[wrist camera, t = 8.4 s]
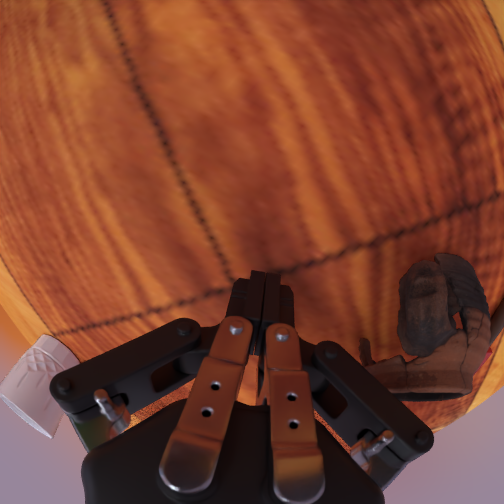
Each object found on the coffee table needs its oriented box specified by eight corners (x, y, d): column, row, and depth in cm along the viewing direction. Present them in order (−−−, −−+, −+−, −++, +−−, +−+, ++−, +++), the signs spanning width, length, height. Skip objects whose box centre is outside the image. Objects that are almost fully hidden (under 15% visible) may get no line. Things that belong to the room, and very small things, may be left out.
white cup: (47, 322, 21) (-2, 389, 13) (97, 372, 24) (62, 442, 15) (31, 337, 24) (-7, 391, 15) (73, 379, 27) (42, 435, 18)
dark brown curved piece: (483, 297, 15) (483, 398, 11) (385, 312, 22) (372, 402, 18) (477, 190, 9) (508, 367, 5) (322, 233, 16) (292, 374, 11)
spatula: (522, 219, 12) (535, 229, 10) (549, 237, 11) (559, 246, 10) (415, 392, 21) (419, 404, 20) (452, 388, 21) (456, 398, 19)
